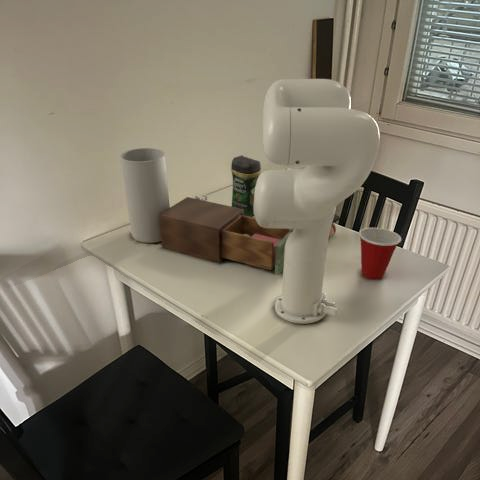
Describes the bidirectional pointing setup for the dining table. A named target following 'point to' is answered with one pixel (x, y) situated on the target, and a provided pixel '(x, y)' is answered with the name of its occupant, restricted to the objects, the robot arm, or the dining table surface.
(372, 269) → the plastic cup
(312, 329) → the dining table surface
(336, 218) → the figurine character
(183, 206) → the cabinet
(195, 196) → the soldier figure
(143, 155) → the cylinder vase
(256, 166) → the coffee jar
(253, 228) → the drawer
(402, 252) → the dining table surface
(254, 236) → the pink block on ball
